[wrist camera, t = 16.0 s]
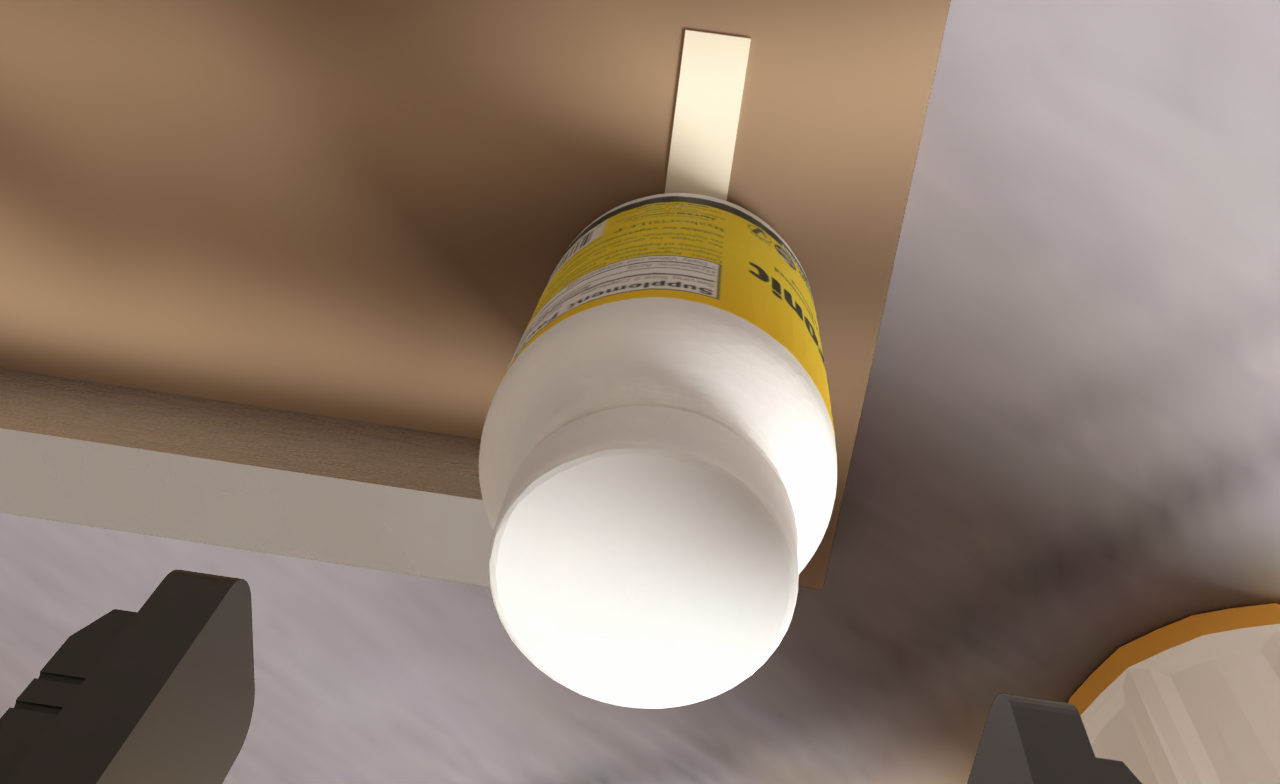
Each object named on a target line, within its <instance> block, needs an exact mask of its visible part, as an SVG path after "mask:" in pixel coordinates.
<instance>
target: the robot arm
mask: <svg viewBox="0 0 1280 784" xmlns="http://www.w3.org/2000/svg"><path fill="white" fill-rule="evenodd" d="M254 695H255V686H254V660H253V633H252V607H251V592H250V588H249V585H248V583H247V582H246V581H245V580H244V579H238V578H231V577H224V576H217V575H211V574H204V573H197V572H190V571H184V570H174V571H172V572H170V573H169V574H168V575H167V576H166V577H165V578H164V580H163V581H162V582H161V583H160V585H159V586H158V587H157V589H156V590H155V591H154V592H153V594H152V595H151V596H150V597H149V599H148V600H147V601H146V603H145V604H144V605H143V606H142V608H141V609H140V610H139V611H138V613H137V612H130V611H123V610H116V609H114V610H112V611H111V612H109V613H107V614H106V615H104V616H103V617H101V618H99V619H98V620H96V621H94V622H93V623H91V624H90V625H88V626H86V627H85V628H83V629H81V630H80V631H78V632H76V633H75V634H73V635H72V636H70V637H69V638H68V639H67V640H66V642H65V643H64V644H63V645H62V646H61V648H60V649H59V650H58V651H57V652H56V653H55V655H54V656H53V657H52V658H51V659H50V661H49V662H48V663H47V664H46V665H45V666H44V668H43V669H42V670H41V671H40V676H39V678H38V679H35V678H34V680H33V681H32V682H31V683H30V684H29V685H28V687H27V688H26V689H25V690H24V691H23V693H22V694H21V695H20V696H19V697H18V698H17V700H16V704H15V707H14V708H9V709H8V710H7V711H6V713H5V714H4V715H3V716H2V717H1V719H0V784H222V783H223V781H224V779H225V777H226V775H227V774H228V772H229V770H230V768H231V766H232V765H233V763H234V761H235V759H236V757H237V756H238V754H239V752H240V750H241V748H242V746H243V743H244V741H245V738H246V735H247V732H248V729H249V725H250V721H251V717H252V712H253V705H254ZM967 784H1142V783H1141V782H1140V781H1139V780H1138V778H1137V777H1136V776H1135V775H1134V774H1133V773H1132V772H1131V771H1130V769H1129V768H1128V767H1127V766H1126V765H1125V764H1124V763H1123V761H1116V760H1110V759H1103V758H1096V757H1095V755H1094V752H1093V749H1092V746H1091V744H1090V741H1089V738H1088V735H1087V733H1086V730H1085V727H1084V724H1083V722H1082V719H1081V716H1080V714H1079V712H1078V710H1077V708H1076V707H1075V706H1074V705H1073V704H1070V703H1064V702H1058V701H1051V700H1044V699H1037V698H1031V697H1024V696H1017V695H1010V694H1003V693H1001V694H999V695H998V696H997V697H996V698H995V700H994V702H993V704H992V706H991V709H990V712H989V715H988V718H987V722H986V725H985V728H984V731H983V734H982V738H981V741H980V744H979V747H978V750H977V754H976V757H975V760H974V763H973V767H972V770H971V773H970V776H969V779H968V783H967Z"/></svg>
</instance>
